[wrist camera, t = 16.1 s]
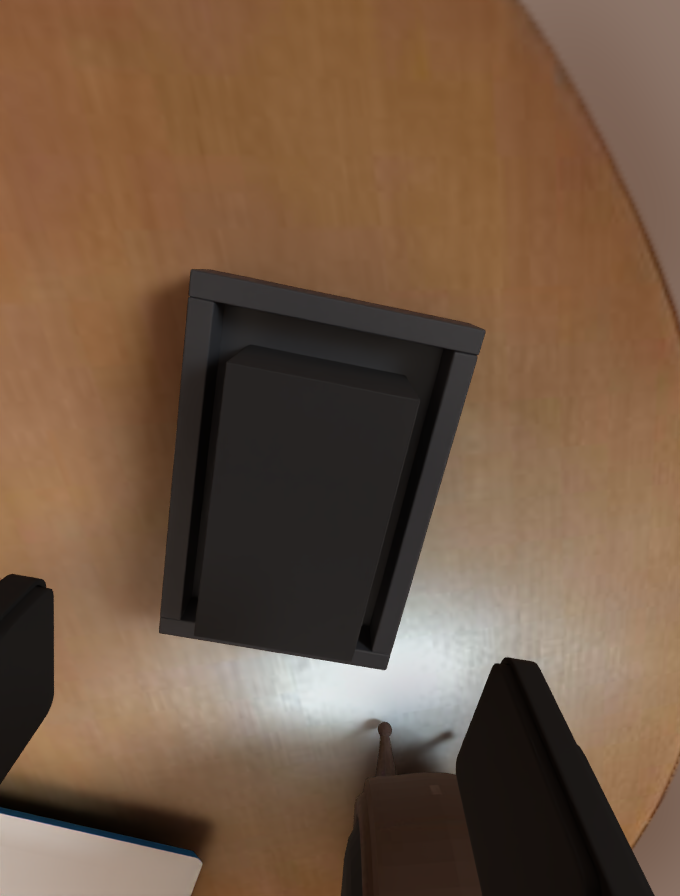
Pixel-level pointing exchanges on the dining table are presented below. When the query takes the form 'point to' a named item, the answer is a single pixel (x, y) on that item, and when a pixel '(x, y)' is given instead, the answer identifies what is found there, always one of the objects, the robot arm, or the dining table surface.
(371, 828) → the alarm clock
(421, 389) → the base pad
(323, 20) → the dining table surface
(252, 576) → the black rectangular block
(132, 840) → the plate
